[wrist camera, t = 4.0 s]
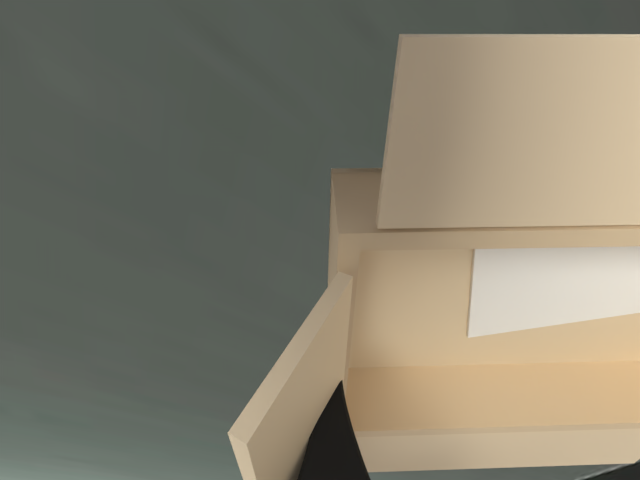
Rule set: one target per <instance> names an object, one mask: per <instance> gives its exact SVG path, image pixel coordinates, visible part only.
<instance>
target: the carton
mask: <svg viewBox="0 0 640 480" xmlns="http://www.w3.org/2000/svg"><path fill="white" fill-rule="evenodd" d="M338 271H340V272H342V273H345V274H348V275H351V276H353V283H352V294H351V306H350V317H349V328H348V340H347V351H346V362H345V374H344V385H343V389H344V394H345V399H346V404H347V408H348V412H349V416H350V420H351V424H352V427H353V430H354V434H355V437H356V440H357V443H358V446H359V449H360V452H361V455H362V458H363V461H364V463H365V466H366V469H367V471H368V472H394V471H423V470H453V469H482V468H512V467H541V466H570V465H600V464H629V463H635V462H636V461H638V460H639V459H640V34H399V40H398V48H397V56H396V64H395V72H394V80H393V88H392V96H391V103H390V111H389V119H388V127H387V135H386V143H385V151H384V159H383V167H382V168H331V189H330V225H329V260H328V286H329V285H330V283H331V282H332V280H333V279H334V277H335V276H336V274H337V273H338Z"/></svg>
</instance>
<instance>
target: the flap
mask: <svg viewBox="0 0 640 480" xmlns="http://www.w3.org/2000/svg"><path fill="white" fill-rule="evenodd" d="M352 283H353V276H351V275H348V274H345V273H342V272H340V271H338V273H337V274H336V276H335V277H334V279H333V280H332V282H331V283H330V285H329V286H328V287H327V289H326V290H325V292H324V293H323V295H322V296H321V298H320V299H319V301H318V302H317V303H316V305H315V306H314V308H313V309H312V311H311V312H310V314H309V315H308V317H307V318H306V319H305V321H304V322H303V324H302V325H301V327H300V328H299V330H298V331H297V333H296V334H295V335H294V337H293V338H292V340H291V341H290V343H289V344H288V346H287V347H286V349H285V350H284V351H283V353H282V354H281V356H280V357H279V359H278V360H277V362H276V363H275V365H274V366H273V367H272V369H271V370H270V372H269V373H268V375H267V376H266V378H265V379H264V381H263V382H262V383H261V385H260V386H259V388H258V389H257V391H256V392H255V394H254V395H253V397H252V398H251V399H250V401H249V402H248V404H247V405H246V407H245V408H244V410H243V411H242V413H241V414H240V416H239V417H238V418H237V420H236V421H235V423H234V424H233V426H232V427H231V429H230V430H229V432H228V436H229V439H230V442H231V445H232V448H233V451H234V454H235V457H236V460H237V463H238V466H239V469H240V471H241V474H242V477H243V480H297V478H298V475H299V472H300V469H301V465H302V462H303V459H304V456H305V452H306V449H307V445H308V441H309V437H310V435H311V433H312V431H313V429H314V427H315V425H316V423H317V421H318V419H319V417H320V415H321V414H322V412H323V410H324V408H325V407H326V405H327V403H328V401H329V400H330V398H331V396H332V394H333V393H334V391H335V389H336V388H337V386H338V384H339V383H340V381H341V380H342V381H343V385H344V374H345V362H346V351H347V340H348V328H349V317H350V306H351V294H352Z"/></svg>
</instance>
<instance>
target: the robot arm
mask: <svg viewBox="0 0 640 480" xmlns="http://www.w3.org/2000/svg"><path fill="white" fill-rule="evenodd" d="M297 480H371V479H370V477H369V474H368V471H367V469H366V466H365V463H364V461H363V458H362V455H361V452H360V449H359V446H358V443H357V440H356V437H355V434H354V430H353V427H352V424H351V420H350V416H349V412H348V408H347V404H346V399H345V394H344V389H343V381H342V380H341V381H340V383H339V384H338V386H337V388H336V389H335V391H334V393H333V394H332V396H331V398H330V400H329V401H328V403H327V405H326V407H325V408H324V410H323V412H322V414H321V415H320V417H319V419H318V421H317V423H316V425H315V427H314V429H313V431H312V433H311V435H310V437H309V441H308V445H307V449H306V452H305V456H304V459H303V462H302V465H301V469H300V472H299V475H298V478H297Z"/></svg>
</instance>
